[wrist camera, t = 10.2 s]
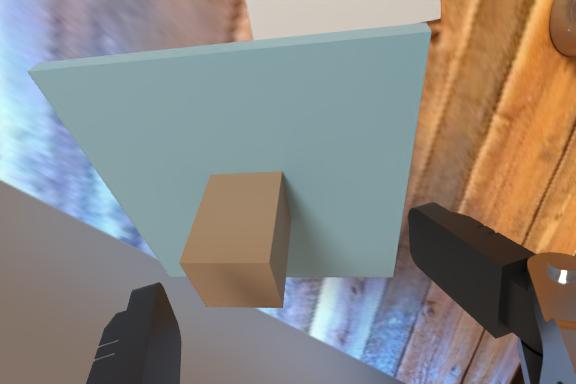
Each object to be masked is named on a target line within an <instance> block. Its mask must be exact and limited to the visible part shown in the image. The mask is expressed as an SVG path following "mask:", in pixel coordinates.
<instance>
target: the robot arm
mask: <svg viewBox="0 0 576 384" xmlns="http://www.w3.org/2000/svg"><path fill="white" fill-rule="evenodd" d="M550 32H551V37H552V40H553V43H554V45H555V46H556V48H557V49H558V50H559V51H560V52H561V53H562V54H564V55H567V56H576V0H555V1H554V4H553V7H552V11H551V17H550ZM408 217H409V241H410V253H411V256H412V259H413V261H414V262H415V264H416V265H417V267H418V268H419V269H421V270H422V271H423V272H424V273H425V274H426V275H427V276H428V277H429V278H430V279H431V280H433V281H434V282H435V283H436V284H437V285H438V286H439V287H440V288H441V289H442V290H443V291H444V292H446V293H447V294H448V295H449V296H450V297H451V298H452V299H453V300H454V301H455V302H456V303H458V304H459V305H460V306H461V307H462V308H463V309H464V310H465V311H466V312H467V313H468V314H470V315H471V316H472V317H473V318H474V319H475V320H476V321H477V322H478V323H479V324H480V325H482V326H483V327H484V328H485V329H486V330H487V331H488V332H489V333H490V334H491V335H492V336H493V337H495V338H496V339H497V338H499V337H502V336H504V335H507V334H510V333H512V332H513V333H514V334H515V335H516V336H518V342H517V348H518V353H519V357H520V362H521V367H522V371H523V376H524V381H525V384H576V257H575V256H572V255H568V254H562V253H551V252H548V253H540V254H535V253H533V252H531V251H530V250H528V249H526V248H524V247H523V246H521V245H519V244H517V243H515V242H514V241H512V240H510V239H508V238H507V237H505V236H503V235H501V234H500V233H498V232H497V233H495V231H494V230H492V229H491V228H489V227H487V226H484V225H483V224H482V223H480V222H478V221H476V220H475V219H473V218H471V217H469V216H465V215H462V214H458V213H455V212H450V211H448V210H447V209H445V208H443V207H442V206H440V205H438V204H436V203H434V202H432V203H428V204H425V205H422V206H418V207H415V208H412V209H410V211H409V216H408ZM180 362H181V335H180V330H179V326H178V322H177V320H176V317H175V315H174V312H173V310H172V307H171V305H170V302H169V300H168V297H167V295H166V292H165V290H164V288H163V286H162V284H161V283H155V284H152V285H148V286H145V287H142V288H139V289H135V290H133V291H132V293H131V296H130V300H129V303H128V307H127V310H126V311H123V312H120V313H117V314H116V315H115V316H114V317H113V319H112V320H111V321H110V322H109V324H108V325H107V326H106V328H105V329H104V331H103V335H102V338H101V341H100V344H99V348H98V350H97V353H96V356H95V362H93V365H92V368H91V371H90V374H89V377H88V380H87V383H86V384H180V364H181V363H180Z"/></svg>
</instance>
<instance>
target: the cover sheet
mask: <svg viewBox="0 0 576 384" xmlns="http://www.w3.org/2000/svg"><path fill="white" fill-rule="evenodd" d="M430 38H431V30H430V28H429V26H428V24H427V23H417V24H408V25H398V26H388V27H379V28H369V29H359V30H350V31H340V32H330V33H321V34H311V35H301V36H291V37H282V38H272V39H262V40H253V41H243V42H233V43H224V44H214V45H204V46H195V47H185V48H175V49H165V50H156V51H146V52H136V53H127V54H117V55H107V56H98V57H88V58H78V59H69V60H59V61H49V62H40V63H38V64H37V65H36V66H34V67H33V68H32V69H30V70H29V71H28V73H29V75H30V76H31V78H32V79H33V80H34V82H35V83H36V85H37V86H38V88H39V89H40V90H41V92H42V93H43V95H44V96H45V98H46V99H47V101H48V102H49V103H50V105H51V106H52V108H53V109H54V111H55V112H56V114H57V115H58V116H59V118H60V119H61V121H62V122H63V124H64V125H65V126H66V128H67V129H68V131H69V132H70V134H71V135H72V137H73V138H74V139H75V141H76V142H77V144H78V145H79V147H80V148H81V149H82V151H83V152H84V154H85V155H86V157H87V158H88V160H89V161H90V162H91V164H92V165H93V167H94V168H95V170H96V171H97V173H98V174H99V175H100V177H101V178H102V180H103V181H104V183H105V184H106V185H107V187H108V188H109V190H110V191H111V193H112V194H113V196H114V197H115V198H116V200H117V201H118V203H119V204H120V206H121V207H122V209H123V210H124V211H125V213H126V214H127V216H128V217H129V219H130V220H131V221H132V223H133V224H134V226H135V227H136V229H137V230H138V232H139V233H140V234H141V236H142V237H143V239H144V240H145V242H146V243H147V245H148V246H149V247H150V249H151V250H152V252H153V253H154V255H155V256H156V257H157V259H158V260H159V262H160V263H161V265H162V266H163V268H164V269H165V270H166V272H167V273H168V275H169V276H170V277H188V278H189V280H190V282H191V283H192V285H193V286H194V288H195V290H196V291H197V293H198V294H199V296H200V298H201V299H202V301H203V302H204V304H205V306H206V307H256V308H283V300H284V290H285V280H286V277H393V274H394V268H395V261H396V255H397V248H398V242H399V236H400V229H401V223H402V217H403V210H404V204H405V197H406V191H407V185H408V178H409V172H410V165H411V159H412V153H413V146H414V140H415V134H416V127H417V121H418V114H419V108H420V102H421V95H422V89H423V82H424V76H425V70H426V63H427V57H428V51H429V44H430Z"/></svg>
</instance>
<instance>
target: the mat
mask: <svg viewBox="0 0 576 384" xmlns="http://www.w3.org/2000/svg"><path fill="white" fill-rule="evenodd" d="M245 3H246V8H247V13H248V18H249V23H250V28H251V33H252V38H253V40H262V39H272V38H282V37H291V36H301V35H311V34H321V33H330V32H340V31H350V30H359V29H369V28H379V27H388V26H398V25H408V24H416V23H421V22H426V21H431V20H436V19H441V0H245Z"/></svg>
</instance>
